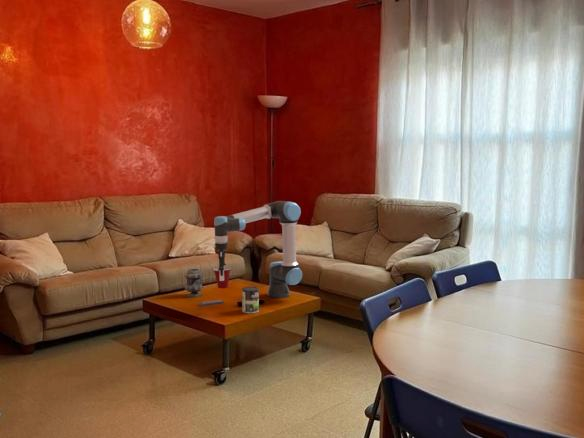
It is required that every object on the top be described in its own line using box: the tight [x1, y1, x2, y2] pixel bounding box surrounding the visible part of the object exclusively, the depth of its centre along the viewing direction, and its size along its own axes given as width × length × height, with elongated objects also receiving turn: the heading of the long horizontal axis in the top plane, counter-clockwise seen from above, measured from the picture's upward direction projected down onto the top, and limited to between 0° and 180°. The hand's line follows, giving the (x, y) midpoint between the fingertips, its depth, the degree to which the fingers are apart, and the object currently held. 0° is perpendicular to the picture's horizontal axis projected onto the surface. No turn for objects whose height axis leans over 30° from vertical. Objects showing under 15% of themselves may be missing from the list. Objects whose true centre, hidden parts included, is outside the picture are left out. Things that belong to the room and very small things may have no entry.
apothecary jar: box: [184, 268, 204, 298], centre depth 371 cm, size 12×12×18 cm
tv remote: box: [198, 299, 224, 307], centre depth 352 cm, size 15×4×2 cm, turn 117°
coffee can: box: [241, 286, 260, 314], centre depth 335 cm, size 10×10×14 cm
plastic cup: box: [212, 266, 232, 289], centre depth 331 cm, size 11×11×12 cm
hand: (222, 278), depth 331 cm, fingers closed on plastic cup, 11 cm apart
